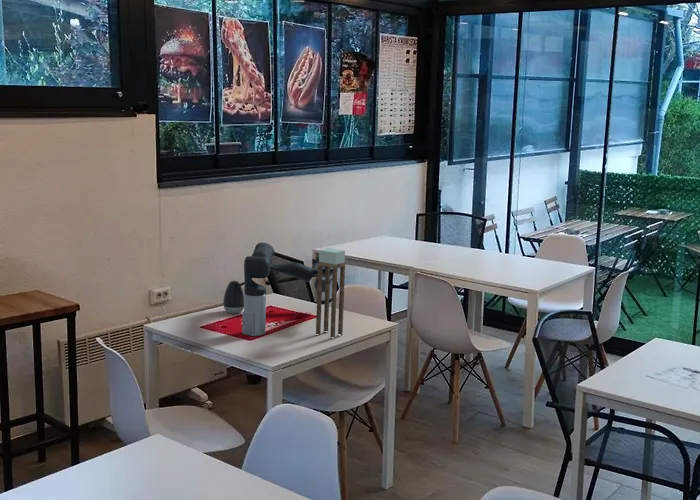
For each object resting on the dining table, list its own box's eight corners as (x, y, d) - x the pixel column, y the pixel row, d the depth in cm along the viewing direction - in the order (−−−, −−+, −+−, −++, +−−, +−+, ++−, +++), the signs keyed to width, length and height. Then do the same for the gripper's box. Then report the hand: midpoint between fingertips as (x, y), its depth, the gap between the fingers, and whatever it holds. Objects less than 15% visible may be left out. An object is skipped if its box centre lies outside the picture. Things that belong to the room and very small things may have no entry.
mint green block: (335, 264, 327) (335, 252, 326) (307, 259, 335) (307, 248, 334) (356, 259, 339) (356, 248, 339) (328, 255, 348) (328, 244, 347)
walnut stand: (332, 339, 332) (335, 264, 327) (315, 335, 337) (318, 261, 331) (342, 335, 338) (345, 262, 332) (325, 331, 343) (327, 259, 337)
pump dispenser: (247, 314, 367) (248, 282, 364) (225, 315, 363) (226, 283, 360) (242, 309, 376) (242, 277, 373) (220, 310, 372) (221, 278, 369)
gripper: (310, 262, 361) (312, 249, 346) (341, 262, 363) (345, 250, 348) (310, 277, 359) (312, 266, 344) (341, 278, 360) (345, 266, 345)
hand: (329, 258), depth 346 cm, fingers open, 8 cm apart
